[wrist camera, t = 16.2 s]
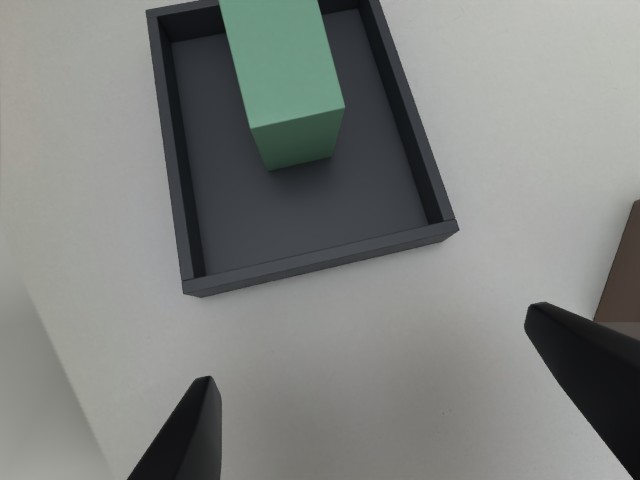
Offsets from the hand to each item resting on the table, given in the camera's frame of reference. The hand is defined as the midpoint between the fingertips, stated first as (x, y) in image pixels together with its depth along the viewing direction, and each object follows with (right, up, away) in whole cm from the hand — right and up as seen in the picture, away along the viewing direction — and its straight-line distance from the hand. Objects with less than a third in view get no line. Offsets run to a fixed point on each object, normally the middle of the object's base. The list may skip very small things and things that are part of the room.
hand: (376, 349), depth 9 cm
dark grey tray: (-4, +11, +17) cm, 21 cm away
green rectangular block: (-3, +9, +12) cm, 15 cm away
